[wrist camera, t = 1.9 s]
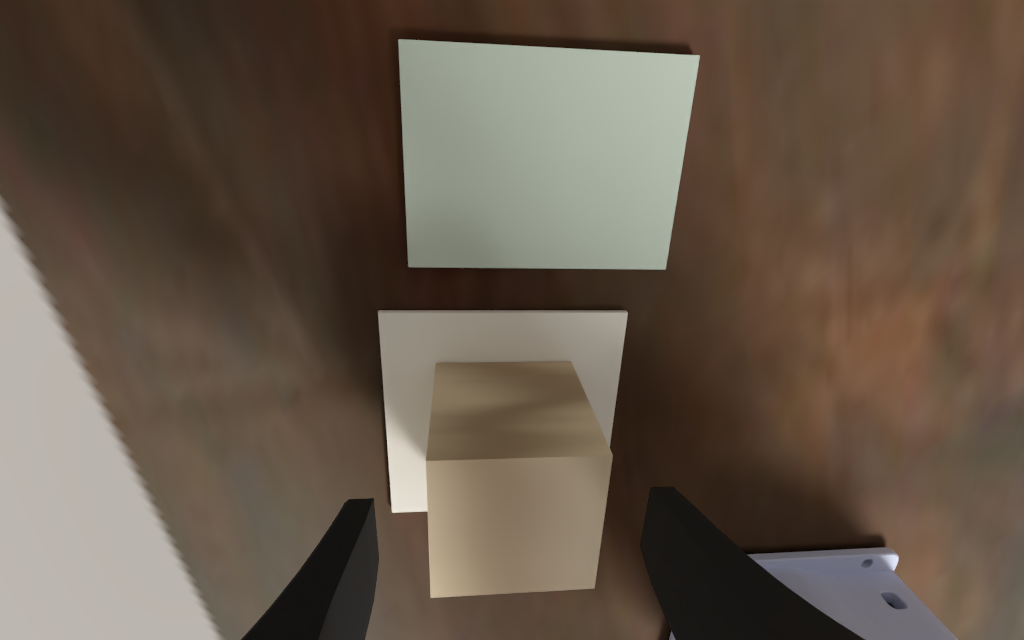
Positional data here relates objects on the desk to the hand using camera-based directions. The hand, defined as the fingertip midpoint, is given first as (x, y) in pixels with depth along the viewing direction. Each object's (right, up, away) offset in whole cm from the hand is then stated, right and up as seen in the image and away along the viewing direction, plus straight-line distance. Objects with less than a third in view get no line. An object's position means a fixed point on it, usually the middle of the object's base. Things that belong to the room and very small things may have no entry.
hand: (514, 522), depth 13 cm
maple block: (0, +2, +4) cm, 5 cm away
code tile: (0, +2, +5) cm, 5 cm away
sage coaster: (+1, +10, +2) cm, 10 cm away
